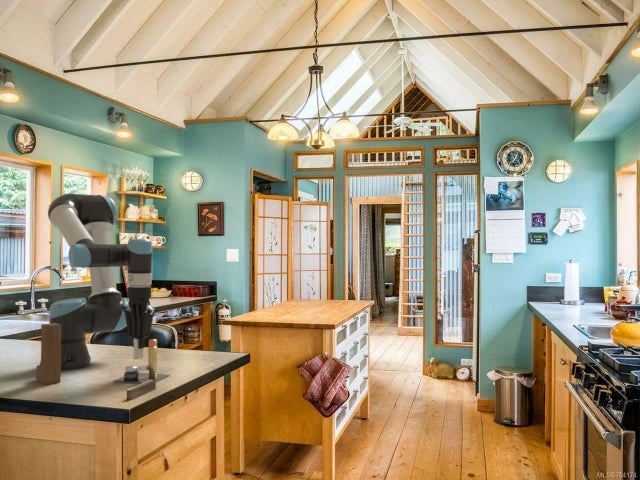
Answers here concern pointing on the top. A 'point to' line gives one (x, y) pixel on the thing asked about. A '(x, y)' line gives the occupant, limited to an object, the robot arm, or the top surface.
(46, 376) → the wooden block
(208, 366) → the top surface
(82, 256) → the robot arm
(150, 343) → the crank
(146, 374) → the crank base
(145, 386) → the batten
